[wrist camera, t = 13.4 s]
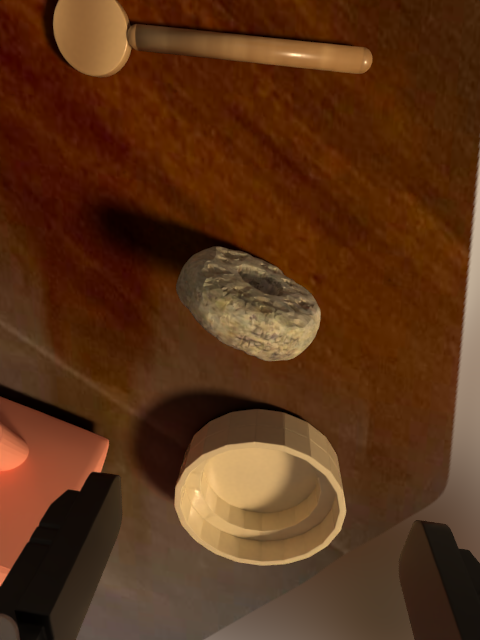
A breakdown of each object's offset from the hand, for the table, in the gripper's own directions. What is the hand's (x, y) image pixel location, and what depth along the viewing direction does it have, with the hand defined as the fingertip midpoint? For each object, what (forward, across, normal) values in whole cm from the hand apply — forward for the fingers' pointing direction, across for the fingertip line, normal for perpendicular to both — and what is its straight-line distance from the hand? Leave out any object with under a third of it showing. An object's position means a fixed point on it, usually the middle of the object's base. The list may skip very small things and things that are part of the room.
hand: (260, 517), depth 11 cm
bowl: (+23, -1, +22) cm, 32 cm away
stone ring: (+24, +2, +2) cm, 24 cm away
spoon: (+23, +6, -14) cm, 28 cm away
